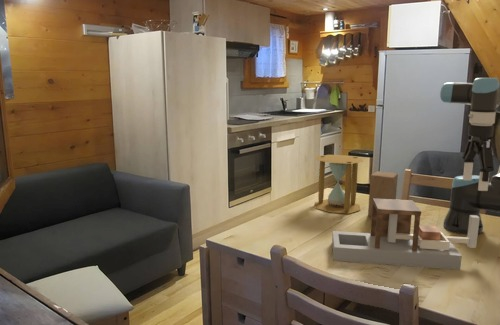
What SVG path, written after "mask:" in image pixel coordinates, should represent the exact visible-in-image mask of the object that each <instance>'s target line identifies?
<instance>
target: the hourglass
mask: <svg viewBox="0 0 500 325" xmlns="http://www.w3.org/2000/svg"><path fill="white" fill-rule="evenodd" d="M315 161H319V169H318V170H319V172H318V196H317V197H318V201H315V202H314V209H318V210H322V211H325V212H328V213H334V214H335V213H339V214H349V215H350V214H352V213H354V212H355V213H356V212H358V211H361V206H360V204H359V203H356V201H357V200H356V199H357V187H358V166H359V163H363V162H364V161H363V158H362V157H359V156H352V155H345V154H343V155H342V154H326V155H325V154H324V155H318V156H316V158H315ZM326 163H329V169H330V171H331V173H332V174H333V177H334V179H335V180H336V184H334V185H335V186H334V187H333V188H332V190H331V191H330V193H329V194H328V196H327V199H324V195H325V178H326V177H325V175H326V172H325V171H326ZM344 175H345V180H344V181H345V182H344V190H343V188H342V186H341V184H340V181H341V180H342V179H343V177H344Z"/></svg>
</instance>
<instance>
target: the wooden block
mask: <svg viewBox="0 0 500 325" xmlns="http://www.w3.org/2000/svg"><path fill="white" fill-rule="evenodd" d="M398 177H399V174H398V173H396V172H388V171H379V170H377V171H375V172H373V173H371V175H370V181H369V193H368V194H369V196H368V208H367V210H368V212H367V216H368V217H371V218H372V204H373V198H376V199H397V192H398V191H397V189H398V179H399V178H398Z"/></svg>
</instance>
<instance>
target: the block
mask: <svg viewBox="0 0 500 325" xmlns="http://www.w3.org/2000/svg"><path fill="white" fill-rule="evenodd" d="M441 232H442V231H440V229H438V227H437V226H433V225H419V235H420V237H421V238H422V240H438V241H440V233H441Z"/></svg>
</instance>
